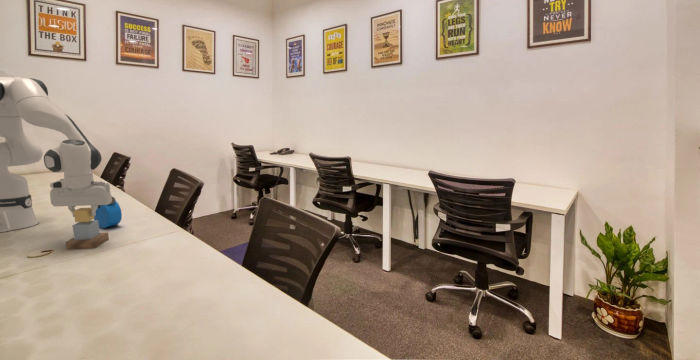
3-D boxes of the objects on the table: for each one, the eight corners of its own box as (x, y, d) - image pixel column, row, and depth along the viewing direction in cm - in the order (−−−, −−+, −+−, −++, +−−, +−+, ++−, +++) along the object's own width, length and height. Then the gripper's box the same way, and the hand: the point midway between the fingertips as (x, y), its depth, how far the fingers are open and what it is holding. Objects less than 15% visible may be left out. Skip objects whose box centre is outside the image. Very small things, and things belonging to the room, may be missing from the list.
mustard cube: (75, 222, 134) (73, 210, 134) (82, 218, 139) (80, 207, 138) (87, 221, 135) (86, 210, 134) (94, 218, 139) (93, 207, 139)
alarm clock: (123, 226, 161) (120, 195, 158) (109, 230, 155) (105, 198, 152) (106, 223, 166) (102, 192, 163) (92, 226, 161) (88, 195, 158)
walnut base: (66, 249, 133) (65, 242, 133) (82, 240, 143) (81, 233, 142) (95, 248, 135) (94, 240, 134) (108, 239, 144) (107, 232, 144)
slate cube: (74, 240, 135) (72, 225, 134) (83, 234, 141) (81, 220, 140) (91, 239, 136) (89, 224, 135) (99, 234, 142) (97, 220, 141)
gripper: (112, 179, 139) (117, 212, 141) (56, 181, 136) (61, 214, 138) (104, 182, 133) (108, 217, 135) (44, 184, 130) (50, 219, 132)
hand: (84, 216), depth 137 cm, fingers closed on mustard cube, 4 cm apart
